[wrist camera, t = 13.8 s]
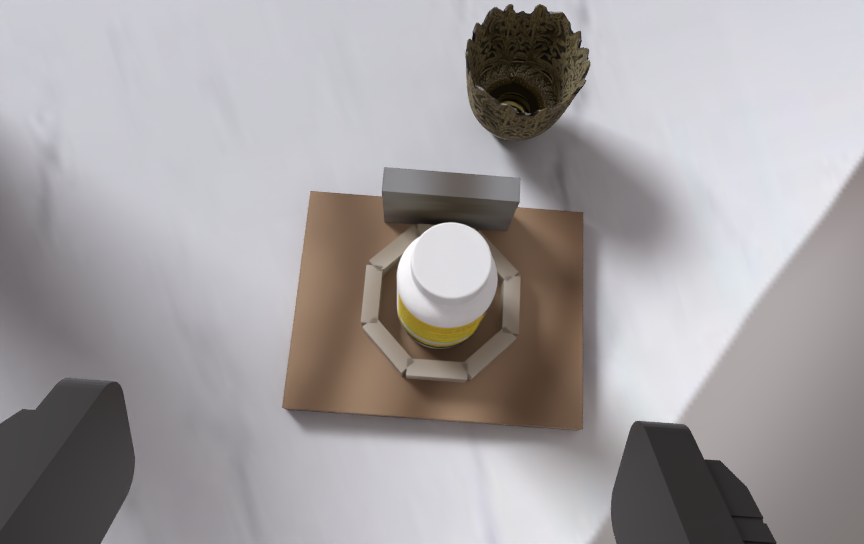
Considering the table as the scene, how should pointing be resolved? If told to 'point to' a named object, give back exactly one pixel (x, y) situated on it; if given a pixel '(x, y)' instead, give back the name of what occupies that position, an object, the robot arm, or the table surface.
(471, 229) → the supplement bottle
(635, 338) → the table surface
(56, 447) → the robot arm
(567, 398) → the socket board
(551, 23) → the cup
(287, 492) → the table surface
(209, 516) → the table surface
